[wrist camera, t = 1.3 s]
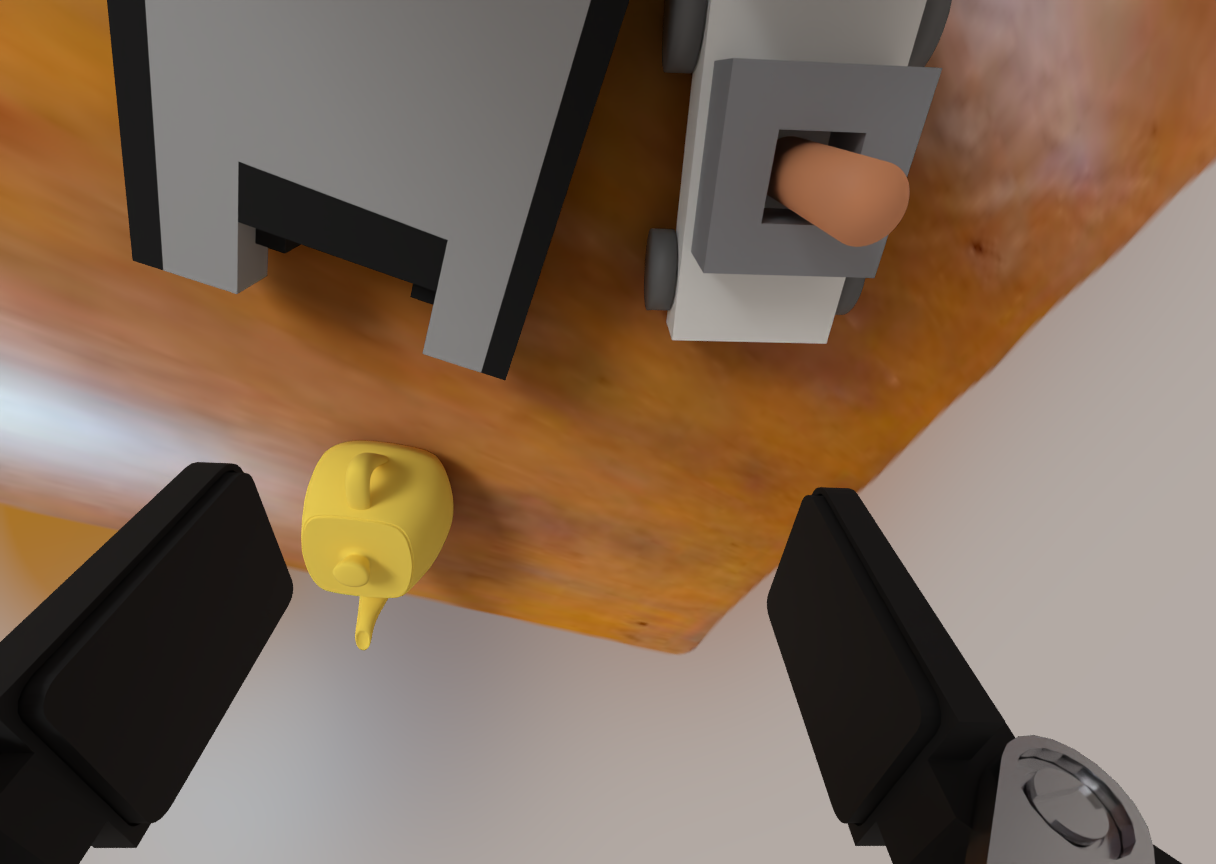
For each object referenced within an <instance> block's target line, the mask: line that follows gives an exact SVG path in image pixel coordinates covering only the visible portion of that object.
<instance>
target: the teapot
mask: <svg viewBox="0 0 1216 864" xmlns="http://www.w3.org/2000/svg"><path fill="white" fill-rule="evenodd" d="M452 519H453V495H452V490H451V486H450V482H449V479H448V476H447V473H446V471H445V468H444V466H443V465H442V463H441V462H440V460H439V459H438V458H437V457H436V456H435V455H434V454H432V453H431V452H428V451H426V450H423V449H419V448H416V447H411V446H406V445H401V444H395V443H388V442H379V441H367V440H355V441H348V442H344V443H340V444H338V445H335V446H333V447H331V448H330V449H329V450H327V451H326V452H325V453H324V454H323V456H322V457H321V459H320V460H319V462H318V463H317V465H316V467H315V469H314V472H313V474H312V477H311V480H310V482H309V485H308V488H307V492H306V497H305V502H304V509H303V517H302V532H301V541H302V553H303V557H304V561H305V564H306V567H307V569H308V572H309V574H310V575H311V577H312V579H313V580H314V582H315V583H316V584H317V585H318V586H319V587H321V588H322V589H324V590H327V591H330V592H334V593H340V594H347V595H354V596H360V600H359V610H358V618H357V625H356V632H355V640H356V644H357V646H358V648H359V649H361V650H366V649H367V648H368V647H369V645H370V643H371V638H372V633H373V629H374V625H375V622H376V620H377V618H378V615H379V614H380V612H381V610H382V608H383V606H384V605H385V603H386V601H387V600H388V598H397V597H400V596H403V595H404V594H406V593H407V592H408V591H409V590H410V589H411V588H412V587H413V586H414V585H415V584H416V583H417V582H418V581H419V580H420V579H421V578H422V576H423V575H424V574H425V573H426V572H427V571H428V570H429V568H430V567H431V565H432V564H433V563H434V561H435V559H436V558H437V556H438V554H439V552H440V551H441V549H442V546H443V544H444V542H445V540H446V538H447V535H448V533H449V530H450V527H451V523H452Z"/></svg>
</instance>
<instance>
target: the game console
mask: <svg viewBox="0 0 1216 864" xmlns="http://www.w3.org/2000/svg"><path fill="white" fill-rule="evenodd" d="M628 3H629V0H107V5H108V15H109V25H110V35H111V45H112V55H113V66H114V76H115V86H116V96H117V106H118V116H119V126H120V137H121V147H122V157H123V167H124V177H125V187H126V197H127V207H128V218H129V228H130V238H131V248H132V258H133V261H136V262H139V263H142V264H145V265H148V266H152V267H155V268H158V269H161V270H164V271H167V272H170V273H173V274H176V275H180V276H183V277H186V278H189V279H192V280H195V281H198V282H201V283H204V284H208V285H211V286H214V287H217V288H220V289H223V290H226V291H229V292H232V293H235V294H238V293H240V292H241V291H243V290H245V289H246V288H248V287H250V286H251V285H253V284H254V283H256V282H258V281H259V280H261V279H263V278H264V277H266V276H267V265H268V248H270V249H273V250H276V251H279V252H282V253H287V252H288V251H290V250H292V249H294V248H295V247H297V246H299V245H301V244H302V245H305V246H308V247H311V248H313V249H316V250H319V251H322V252H325V253H328V254H330V255H333V256H336V257H339V258H342V259H345V260H348V261H350V262H353V263H356V264H359V265H362V266H365V267H367V268H370V269H373V270H376V271H379V272H382V273H385V274H387V275H390V276H393V277H396V278H399V279H402V280H404V281H407V282H410V283H413V287H412V292H411V297H412V298H415V299H418V300H421V301H424V302H427V303H430V304H433V309H432V314H431V318H430V323H429V327H428V332H427V336H426V341H425V345H424V350H423V354H425V355H428V356H431V357H434V358H437V359H441V360H444V361H447V362H450V363H453V364H456V365H459V366H462V367H465V368H468V369H472V370H475V371H478V372H481V373H484V374H487V375H490V376H493V377H496V378H500V379H503V380H506V377H507V374H508V371H509V368H510V364H511V361H512V358H513V355H514V352H515V349H516V346H517V343H518V340H519V337H520V334H521V331H522V328H523V325H524V322H525V319H526V315H527V312H528V309H529V306H530V303H531V300H532V297H533V294H534V291H535V288H536V285H537V282H538V279H539V276H540V273H541V270H542V266H543V263H544V260H545V257H546V254H547V251H548V248H549V245H550V242H551V239H552V236H553V233H554V230H555V227H556V224H557V220H558V217H559V214H560V211H561V208H562V205H563V202H564V199H565V196H566V193H567V190H568V187H569V184H570V181H571V178H572V175H573V171H574V168H575V165H576V162H577V159H578V156H579V153H580V150H581V147H582V144H583V141H584V138H585V135H586V132H587V129H588V125H589V122H590V119H591V116H592V113H593V110H594V107H595V104H596V101H597V98H598V95H599V92H600V89H601V86H602V83H603V80H604V76H605V73H606V70H607V67H608V64H609V61H610V58H611V55H612V52H613V49H614V46H615V43H616V40H617V37H618V34H619V31H620V27H621V24H622V21H623V18H624V15H625V12H626V9H627V6H628Z"/></svg>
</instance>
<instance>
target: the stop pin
mask: <svg viewBox="0 0 1216 864" xmlns="http://www.w3.org/2000/svg"><path fill="white" fill-rule="evenodd" d="M767 195H768V196H770V197H772V198H773V199H775V200H776V201H778V202H779V203H781V204H782V205H784V206H785V207H787V208H789V209H790V210H792V211H793V212H795V213H796V214H798V215H799V216H801V217H803V218H804V219H806V220H807V221H809V222H810V223H812V224H813V225H815V226H817V227H818V228H820V229H821V230H823V231H824V232H826V233H827V234H829V235H830V236H832V237H834V238H835V239H837V240H838V241H840V242H841V243H843V244H845V245H848V246H854V247H862V246H867V245H870V244H873V243H875V242H878V241H879V240H881V239H883V238H884V237H886V236H887V235H888V234H889V233H890V232H891V231H892V230H893V229H894V228H895V227H896V226H897V225H898V223H899V222H900V221H901V219H902V217H903V215H904V213H905V211H906V209H907V206H908V202H909V196H910V189H909V183H908V179H907V177H906V175H905V173H904V172H903V171H902V170H901V169H900V168H899V167H898V166H897V165H895V164H893V163H890V162H887V161H883V160H879V159H876V158H872V157H868V156H865V155H861V154H858V153H854V152H850V151H847V150H843V149H839V148H836V147H832V146H828V145H825V144H821V143H817V142H814V141H810V140H806V139H803V138H799V137H795V136H786V137H782V138H780V139H777V143H776V149H775V154H774V159H773V164H772V170H771V175H770V180H769V185H768V190H767Z"/></svg>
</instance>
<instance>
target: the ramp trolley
mask: <svg viewBox="0 0 1216 864" xmlns="http://www.w3.org/2000/svg"><path fill="white" fill-rule="evenodd" d="M951 1H952V0H665V7H664V19H663V36H662V65H663V71H664V72H668V73H690V74H691V73H692V72H693V74H692V84H691V93H690V103H689V112H688V122H687V131H686V141H685V150H684V160H683V169H682V179H681V188H680V198H679V207H678V217H677V226H676V233H675V230H674V229H653V228H651V229H650V230H649V234H648V239H647V246H646V255H645V271H644V298H645V307H646V309H647V310H668V311H667V321H666V322H667V326H668V329H669V332H670V335H671V338H672V340H688V341H732V342H776V343H820V344H826V343H827V340H828V336H829V333H830V330H831V326H832V323H833V319H834V316H835V315H843V314H846V313H848V312H849V311H850V310H851V309H852V308H853V307H854V305H855V304H856V302H857V300H858V299H859V296H860V294H861V291H862V288H863V285H864V281H865V278H875V275H876V271H877V268H878V265H879V262H880V259H881V256H882V253H883V250H884V247H885V244H886V241H887V237H888V235H887V236H886V237H884V238H883V239H881V240H879V241H878V242H875V243H873V244H870V245H867V246H862V247H854V246H848V245H845V244H843V243H841V242H840V241H838V240H837V239H835V238H834V237H832V236H830V235H829V234H827V233H826V232H824V231H823V230H821V229H820V228H818V227H817V226H815V225H813V224H812V223H810V222H809V221H807V220H806V219H804V218H803V217H801V216H799V215H798V214H796V213H795V212H793V211H792V210H790V209H789V208H787V207H785V206H784V205H782V204H781V203H779V202H778V201H776V200H775V199H773V198H772V197H770V196H768V195H767V190H768V185H769V180H770V175H771V170H772V164H773V159H774V154H775V149H776V143H777V139H780V138H782V137H786V136H795V137H799V138H803V139H806V140H810V141H814V142H817V143H821V144H825V145H828V146H832V147H836V148H839V149H843V150H847V151H850V152H854V153H858V154H861V155H865V156H868V157H872V158H876V159H879V160H883V161H887V162H890V163H893V164H895V165H897V166H898V167H899V168H900V169H901V170H902V171H903V172H904V173H905V175H906V177H907V176H908V173H909V169H910V166H911V163H912V160H913V157H914V154H915V151H916V148H917V145H918V142H919V138H920V135H921V132H922V129H923V126H924V123H925V120H926V117H927V114H928V111H929V108H930V104H931V101H932V98H933V95H934V92H935V89H936V86H937V83H938V80H939V77H940V74H941V70H942V68H932V67H924V66H925V65H926V63H927V62H928V60H929V59H930V57H931V55H932V54H933V52H934V50H935V48H936V46H937V44H938V42H939V40H940V37H941V35H942V32H943V30H944V27H945V24H946V21H947V18H948V14H949V10H950V6H951Z"/></svg>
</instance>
